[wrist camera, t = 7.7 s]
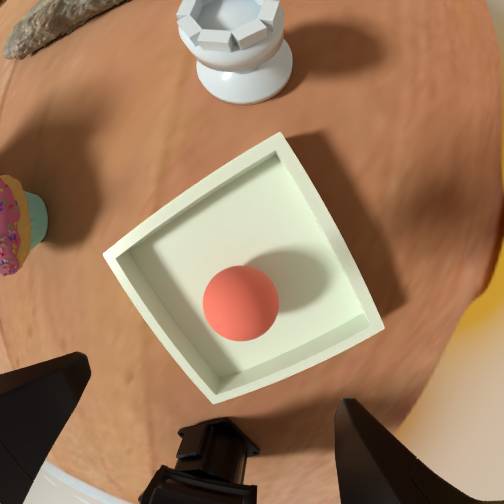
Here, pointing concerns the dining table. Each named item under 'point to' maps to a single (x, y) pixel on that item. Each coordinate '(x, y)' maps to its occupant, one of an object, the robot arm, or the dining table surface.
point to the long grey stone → (50, 23)
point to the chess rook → (237, 47)
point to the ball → (240, 303)
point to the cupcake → (19, 224)
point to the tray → (253, 255)
